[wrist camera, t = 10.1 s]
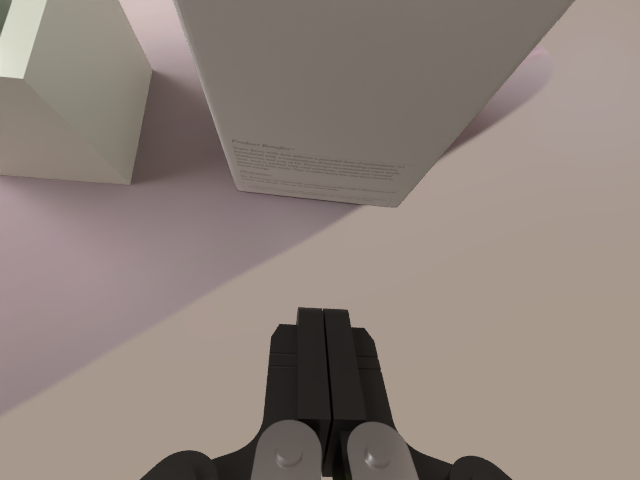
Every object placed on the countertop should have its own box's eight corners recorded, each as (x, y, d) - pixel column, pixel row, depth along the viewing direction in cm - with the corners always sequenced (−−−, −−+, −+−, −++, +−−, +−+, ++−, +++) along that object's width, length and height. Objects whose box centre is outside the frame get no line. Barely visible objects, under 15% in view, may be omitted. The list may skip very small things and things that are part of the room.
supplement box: (402, 73, 22) (633, -430, 7) (398, 211, 20) (726, -133, 5) (252, 51, 21) (190, -548, 7) (230, 192, 19) (62, -268, 4)
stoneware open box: (130, 185, 18) (23, 78, 11) (-16, 174, 18) (-240, 52, 10) (153, 71, 20) (74, -90, 13) (21, 57, 20) (-147, -121, 12)
